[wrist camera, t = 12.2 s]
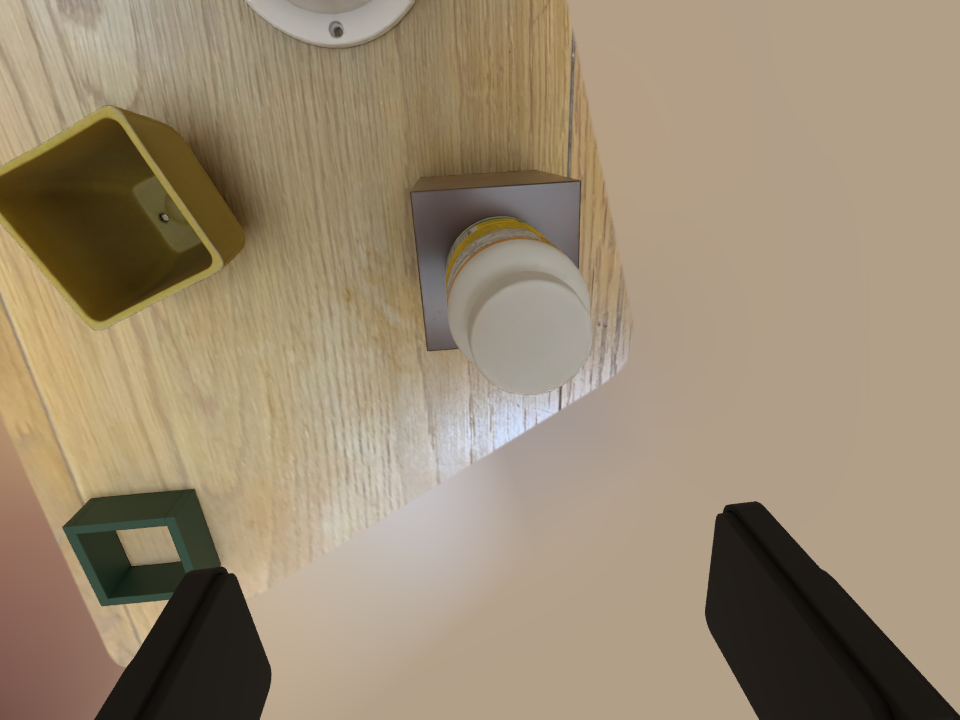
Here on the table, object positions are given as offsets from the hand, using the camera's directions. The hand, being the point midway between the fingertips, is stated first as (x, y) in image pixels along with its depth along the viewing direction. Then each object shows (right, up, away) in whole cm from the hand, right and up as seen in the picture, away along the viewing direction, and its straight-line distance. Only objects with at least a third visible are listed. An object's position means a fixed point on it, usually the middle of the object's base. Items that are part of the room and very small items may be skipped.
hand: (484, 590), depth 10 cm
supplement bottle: (+1, +9, +15) cm, 18 cm away
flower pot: (-20, +15, +24) cm, 35 cm away
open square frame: (-28, -11, +34) cm, 46 cm away
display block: (0, +14, +26) cm, 29 cm away
